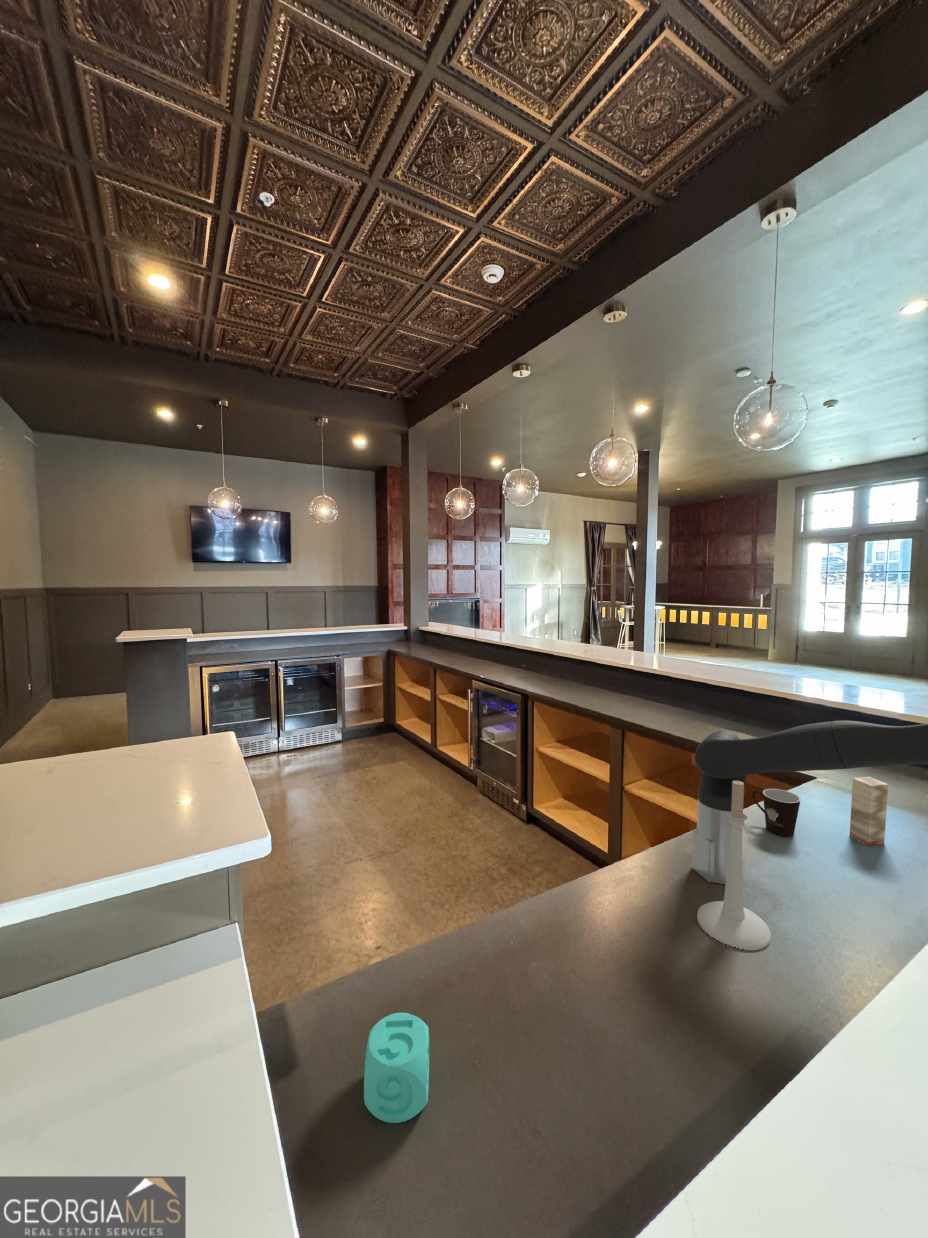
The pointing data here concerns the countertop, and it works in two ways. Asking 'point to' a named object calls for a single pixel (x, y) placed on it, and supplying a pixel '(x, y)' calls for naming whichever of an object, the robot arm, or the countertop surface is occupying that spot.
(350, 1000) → the countertop surface
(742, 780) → the robot arm
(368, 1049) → the decorative dice
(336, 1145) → the countertop surface
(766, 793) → the coffee mug
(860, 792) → the maple block
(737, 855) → the candlestick
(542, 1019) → the countertop surface
